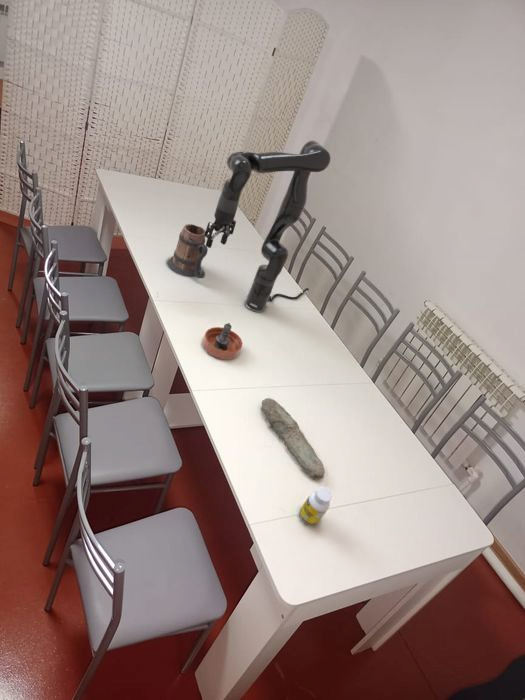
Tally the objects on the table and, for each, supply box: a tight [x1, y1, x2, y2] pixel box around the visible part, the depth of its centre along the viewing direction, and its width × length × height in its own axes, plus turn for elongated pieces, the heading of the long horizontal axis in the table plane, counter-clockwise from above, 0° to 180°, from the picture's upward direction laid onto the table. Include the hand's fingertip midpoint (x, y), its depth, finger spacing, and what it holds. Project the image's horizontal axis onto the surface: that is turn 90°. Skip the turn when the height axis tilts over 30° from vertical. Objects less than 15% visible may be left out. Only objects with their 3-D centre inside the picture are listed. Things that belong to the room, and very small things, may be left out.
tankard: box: [167, 223, 209, 279], centre depth 224 cm, size 24×17×20 cm
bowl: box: [202, 326, 243, 360], centre depth 192 cm, size 15×15×4 cm
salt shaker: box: [214, 322, 232, 351], centre depth 190 cm, size 6×6×12 cm
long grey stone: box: [261, 397, 326, 480], centre depth 166 cm, size 35×5×10 cm
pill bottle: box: [299, 487, 333, 526], centre depth 142 cm, size 6×6×12 cm
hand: (215, 245), depth 193 cm, fingers open, 8 cm apart
